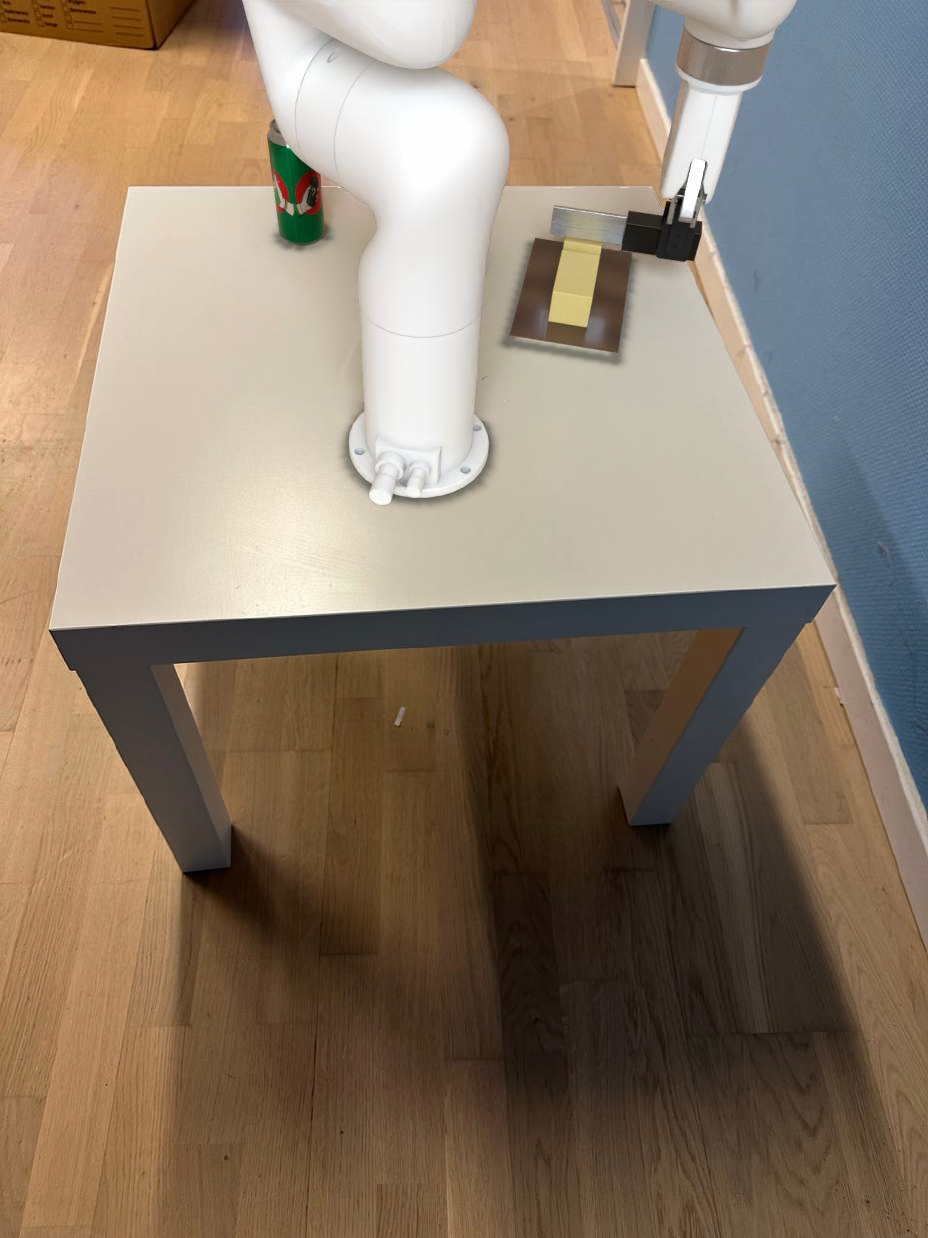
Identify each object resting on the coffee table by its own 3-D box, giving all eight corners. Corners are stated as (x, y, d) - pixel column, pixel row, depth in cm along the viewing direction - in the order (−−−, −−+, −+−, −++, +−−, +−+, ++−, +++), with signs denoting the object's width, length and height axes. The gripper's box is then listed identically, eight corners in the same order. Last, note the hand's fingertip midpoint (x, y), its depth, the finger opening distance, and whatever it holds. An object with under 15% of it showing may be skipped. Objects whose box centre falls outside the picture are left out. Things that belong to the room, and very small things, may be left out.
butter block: (586, 327, 91) (592, 297, 88) (548, 321, 91) (552, 291, 89) (594, 285, 95) (600, 255, 93) (557, 279, 96) (562, 249, 93)
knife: (548, 239, 92) (552, 211, 90) (551, 226, 93) (555, 199, 91) (694, 261, 91) (701, 234, 88) (695, 248, 92) (702, 220, 90)
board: (616, 361, 90) (618, 352, 89) (508, 343, 91) (509, 335, 90) (630, 260, 100) (632, 252, 99) (533, 245, 101) (534, 237, 100)
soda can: (329, 224, 101) (320, 114, 91) (320, 249, 98) (310, 139, 89) (285, 220, 101) (271, 109, 92) (275, 245, 98) (260, 134, 89)
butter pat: (596, 276, 96) (601, 246, 94) (559, 270, 97) (564, 240, 94) (597, 265, 98) (603, 236, 95) (561, 260, 98) (566, 230, 95)
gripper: (683, 9, 81) (641, 202, 97) (673, 90, 72) (628, 290, 87) (765, 20, 81) (710, 213, 96) (766, 103, 72) (705, 302, 87)
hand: (672, 248), depth 92 cm, fingers closed on knife, 2 cm apart
